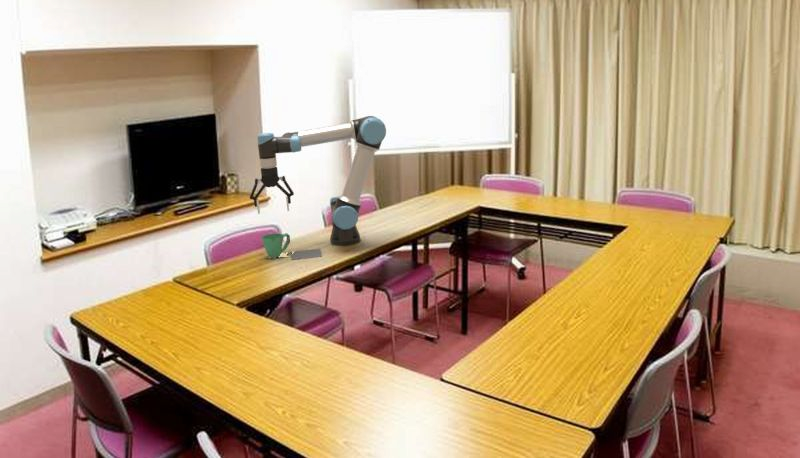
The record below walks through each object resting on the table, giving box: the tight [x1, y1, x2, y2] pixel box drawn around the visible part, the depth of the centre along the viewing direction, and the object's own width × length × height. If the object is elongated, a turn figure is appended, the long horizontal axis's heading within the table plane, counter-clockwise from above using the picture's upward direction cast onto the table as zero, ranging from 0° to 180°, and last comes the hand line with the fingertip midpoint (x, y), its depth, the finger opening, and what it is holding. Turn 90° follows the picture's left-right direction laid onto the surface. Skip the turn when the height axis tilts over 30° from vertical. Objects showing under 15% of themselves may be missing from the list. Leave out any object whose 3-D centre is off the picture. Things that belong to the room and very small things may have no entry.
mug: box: [261, 232, 291, 259], centre depth 323 cm, size 15×10×10 cm
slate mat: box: [290, 248, 323, 261], centre depth 324 cm, size 14×14×1 cm
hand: (273, 212), depth 320 cm, fingers open, 13 cm apart
